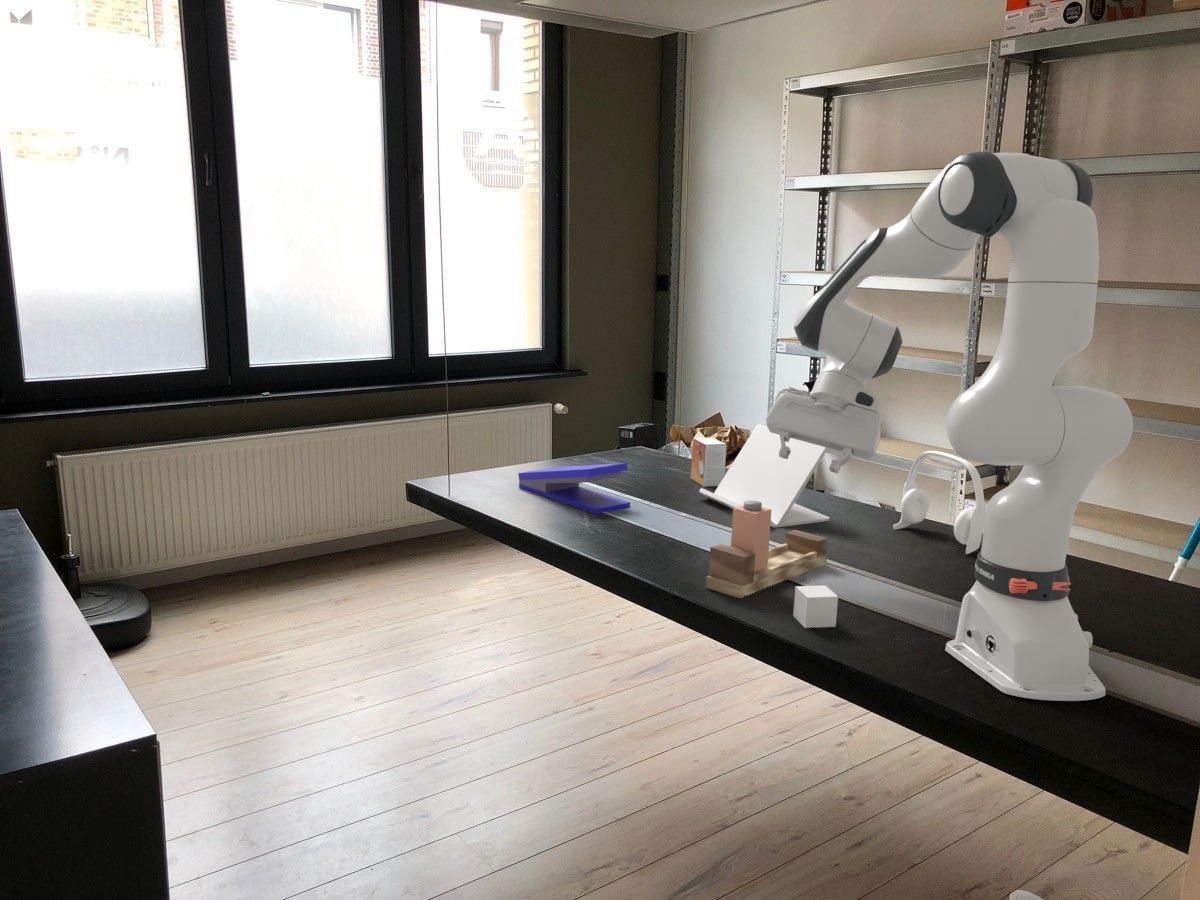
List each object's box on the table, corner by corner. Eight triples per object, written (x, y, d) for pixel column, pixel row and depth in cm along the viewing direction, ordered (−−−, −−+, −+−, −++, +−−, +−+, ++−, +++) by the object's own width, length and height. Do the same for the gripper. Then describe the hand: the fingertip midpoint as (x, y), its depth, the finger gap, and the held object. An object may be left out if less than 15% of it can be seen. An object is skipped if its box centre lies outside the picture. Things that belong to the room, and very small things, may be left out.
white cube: (822, 615, 154) (825, 585, 153) (835, 627, 149) (838, 596, 148) (792, 616, 153) (795, 586, 152) (804, 628, 148) (807, 597, 147)
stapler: (593, 515, 207) (595, 470, 205) (515, 488, 227) (515, 447, 225) (633, 507, 214) (634, 463, 212) (553, 482, 235) (554, 442, 233)
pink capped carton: (745, 564, 170) (749, 497, 167) (767, 571, 166) (772, 503, 164) (729, 570, 166) (733, 502, 164) (751, 577, 163) (756, 508, 161)
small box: (690, 479, 241) (692, 437, 239) (711, 478, 242) (713, 436, 240) (703, 487, 233) (705, 444, 231) (724, 486, 235) (726, 443, 233)
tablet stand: (762, 493, 230) (766, 422, 226) (831, 521, 208) (837, 443, 204) (696, 500, 222) (700, 427, 218) (761, 530, 200) (766, 449, 196)
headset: (989, 553, 189) (999, 463, 185) (961, 556, 186) (971, 465, 182) (916, 525, 206) (925, 443, 203) (890, 528, 203) (898, 444, 200)
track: (793, 554, 183) (796, 519, 182) (826, 563, 179) (829, 527, 177) (705, 587, 164) (708, 547, 163) (739, 598, 159) (742, 557, 158)
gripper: (778, 376, 178) (750, 440, 174) (888, 403, 169) (861, 471, 165) (783, 393, 184) (756, 456, 179) (891, 420, 174) (864, 487, 170)
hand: (807, 464), depth 172 cm, fingers open, 8 cm apart
